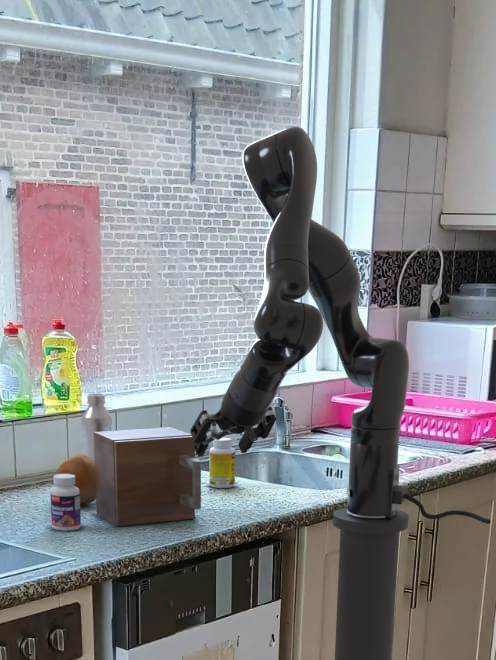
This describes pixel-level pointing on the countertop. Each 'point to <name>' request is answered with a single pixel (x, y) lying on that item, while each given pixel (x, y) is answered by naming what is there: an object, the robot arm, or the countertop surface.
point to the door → (156, 480)
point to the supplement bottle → (222, 464)
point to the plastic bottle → (95, 421)
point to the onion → (81, 476)
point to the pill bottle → (65, 503)
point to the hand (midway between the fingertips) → (220, 450)
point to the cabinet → (107, 463)
